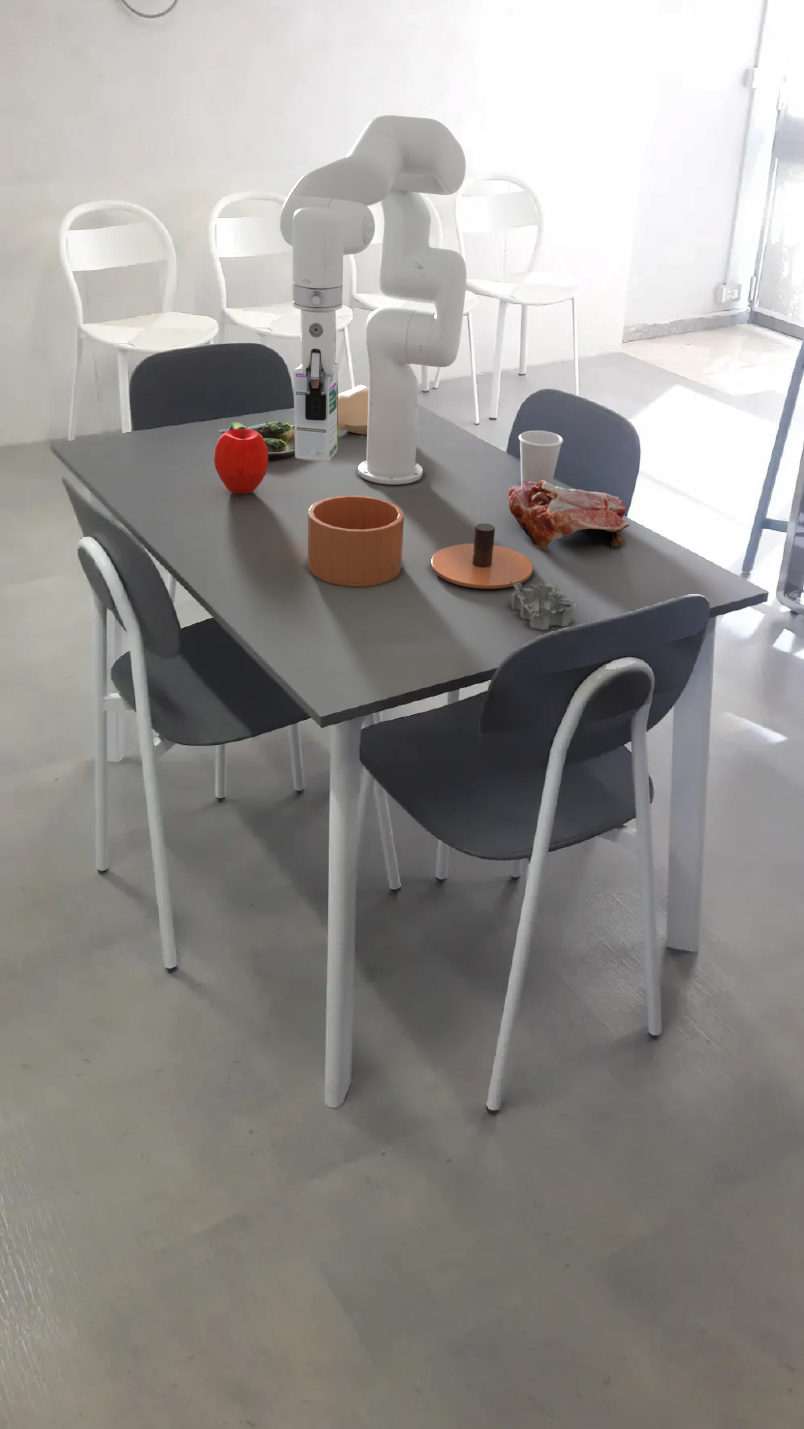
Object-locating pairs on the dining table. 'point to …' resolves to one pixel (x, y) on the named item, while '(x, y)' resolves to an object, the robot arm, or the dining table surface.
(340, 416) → the squash
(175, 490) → the dining table surface
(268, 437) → the salad plate
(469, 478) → the dining table surface
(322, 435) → the syrup box
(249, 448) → the apple
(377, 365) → the robot arm
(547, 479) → the dixie cup
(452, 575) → the lid
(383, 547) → the pot
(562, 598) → the egg carton
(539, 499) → the meat
